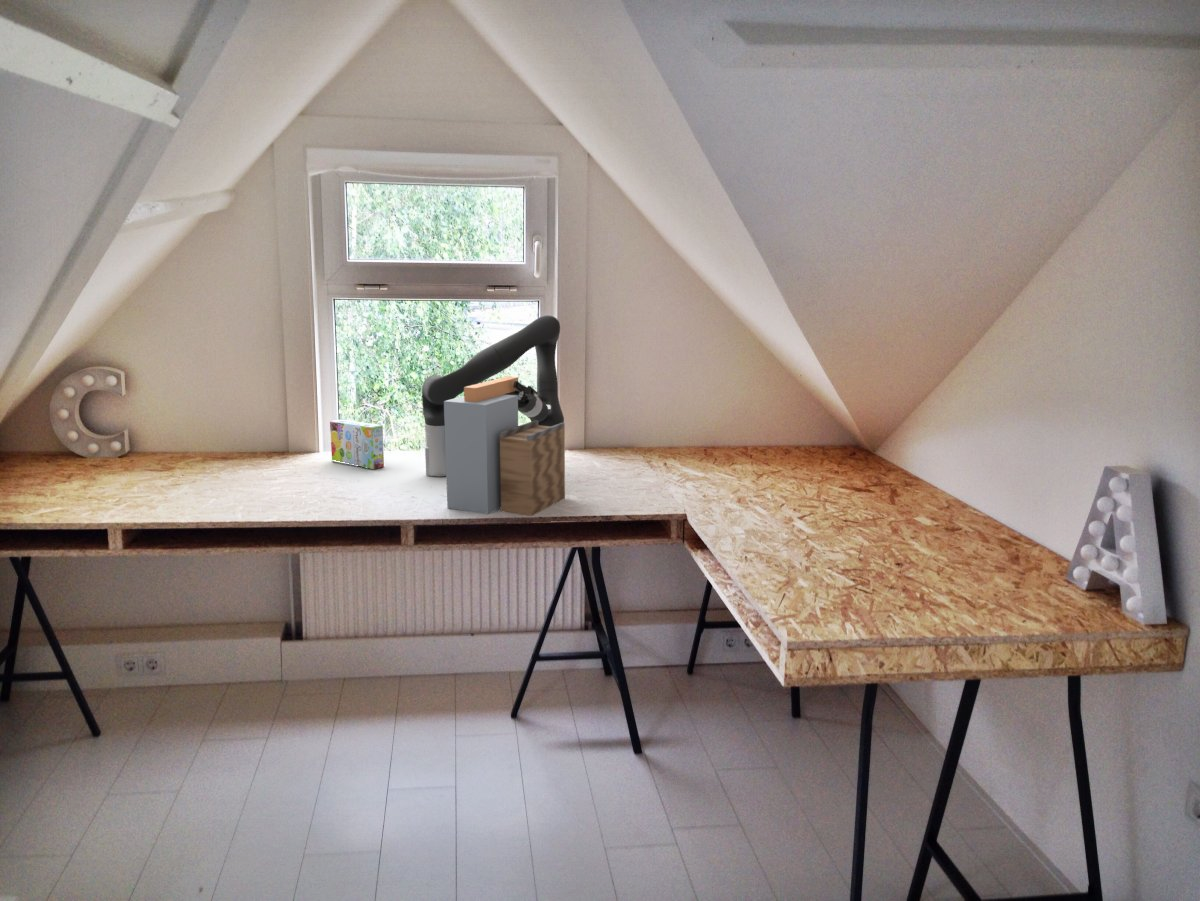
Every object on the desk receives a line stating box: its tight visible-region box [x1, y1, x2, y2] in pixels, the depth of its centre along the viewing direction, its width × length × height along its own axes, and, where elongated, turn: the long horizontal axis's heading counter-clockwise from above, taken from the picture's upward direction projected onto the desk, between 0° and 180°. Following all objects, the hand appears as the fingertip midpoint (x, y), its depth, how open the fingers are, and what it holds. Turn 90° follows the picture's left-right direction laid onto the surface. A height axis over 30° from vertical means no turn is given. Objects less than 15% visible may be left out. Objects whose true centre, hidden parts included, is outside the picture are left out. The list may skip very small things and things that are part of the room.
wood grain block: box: [500, 420, 566, 517], centre depth 279 cm, size 21×10×24 cm, turn 155°
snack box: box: [329, 419, 385, 470], centre depth 329 cm, size 21×6×15 cm, turn 58°
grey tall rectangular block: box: [444, 394, 519, 515], centre depth 279 cm, size 18×14×32 cm
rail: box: [463, 376, 519, 402], centre depth 280 cm, size 24×4×4 cm, turn 155°
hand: (503, 382), depth 286 cm, fingers open, 8 cm apart
